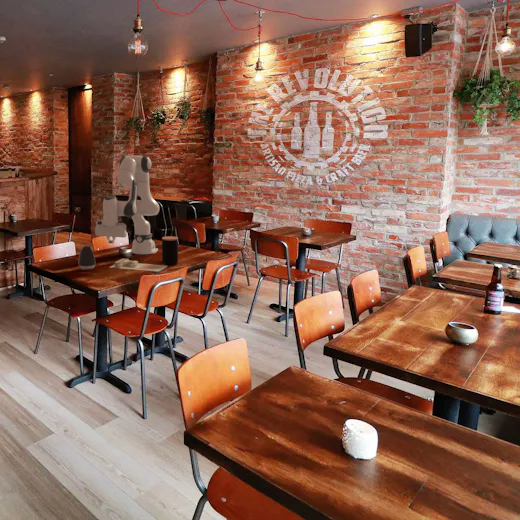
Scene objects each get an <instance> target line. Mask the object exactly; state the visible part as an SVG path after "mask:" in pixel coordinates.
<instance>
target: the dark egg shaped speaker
mask: <svg viewBox="0 0 520 520" xmlns="http://www.w3.org/2000/svg"><path fill="white" fill-rule="evenodd" d="M93 251H94V250H92V247H91V245H85V246H83V247H82V248H81V249H80V251H79V256H78V263H77V265H78V266H79V269H80V270H82V271H83V270H92V269H94V268H95V266H96V263H97V262H96V257H95V254H94V252H93Z"/></svg>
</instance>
